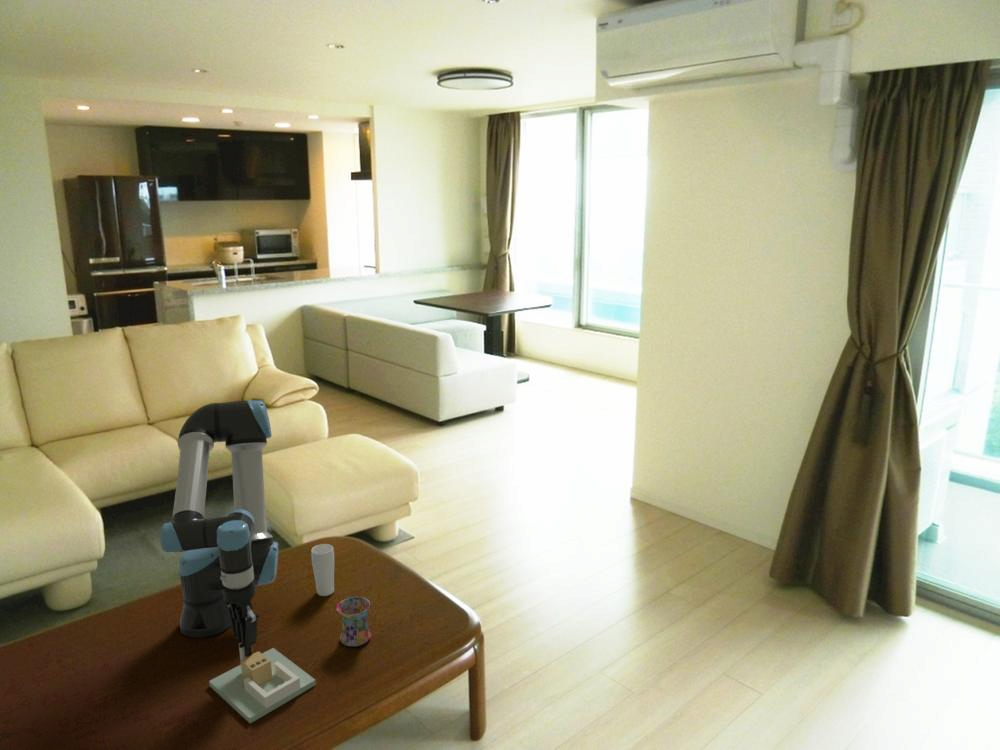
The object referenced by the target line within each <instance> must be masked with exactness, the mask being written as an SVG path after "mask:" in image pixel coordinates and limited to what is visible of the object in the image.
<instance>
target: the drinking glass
mask: <svg viewBox="0 0 1000 750" xmlns="http://www.w3.org/2000/svg"><path fill="white" fill-rule="evenodd" d="M310 552H311V555H310V556H311V557H310V558H311V565H312V570H313V575H314V581H315V586H316V593H317V595H318V596H320V597H328V596H330V595H332V594H333V593H334V592H335V550H334V546H333V545H331V544H328V543H320V544H317V545H315V546H313V547H312V548H311V551H310Z"/></svg>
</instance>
